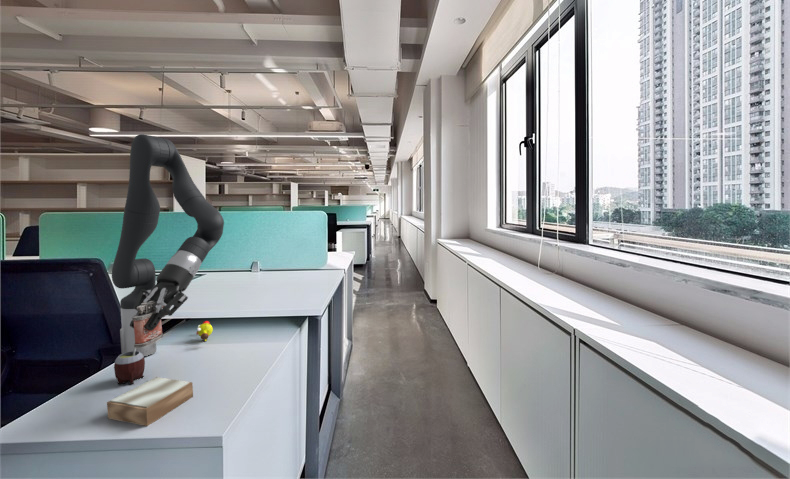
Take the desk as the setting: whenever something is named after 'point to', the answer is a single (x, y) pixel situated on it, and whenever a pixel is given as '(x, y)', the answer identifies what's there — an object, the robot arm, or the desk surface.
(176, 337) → the desk surface
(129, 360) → the mate gourd
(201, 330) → the toy figure
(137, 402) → the wooden flat block
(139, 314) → the lighter
